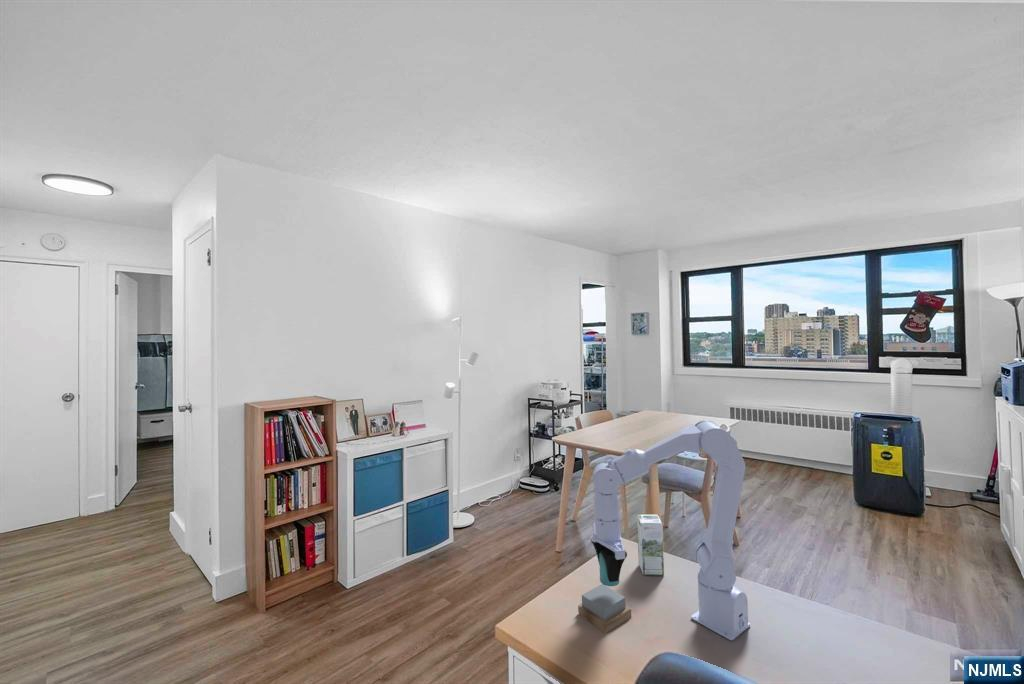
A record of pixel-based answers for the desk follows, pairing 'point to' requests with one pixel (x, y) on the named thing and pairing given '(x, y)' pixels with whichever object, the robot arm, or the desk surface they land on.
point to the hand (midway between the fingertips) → (609, 574)
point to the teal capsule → (605, 573)
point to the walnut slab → (607, 624)
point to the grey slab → (603, 602)
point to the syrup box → (650, 544)
